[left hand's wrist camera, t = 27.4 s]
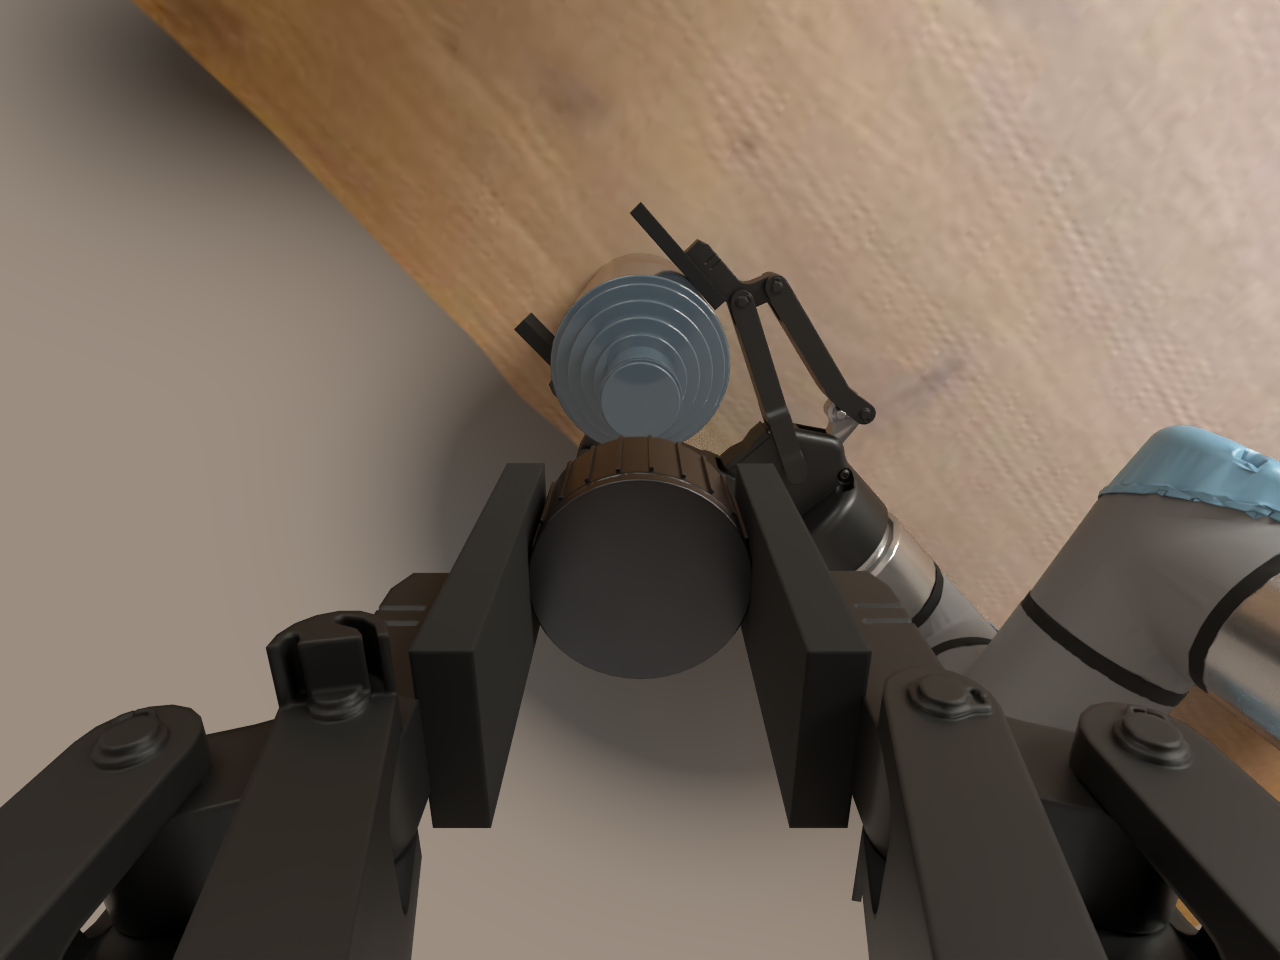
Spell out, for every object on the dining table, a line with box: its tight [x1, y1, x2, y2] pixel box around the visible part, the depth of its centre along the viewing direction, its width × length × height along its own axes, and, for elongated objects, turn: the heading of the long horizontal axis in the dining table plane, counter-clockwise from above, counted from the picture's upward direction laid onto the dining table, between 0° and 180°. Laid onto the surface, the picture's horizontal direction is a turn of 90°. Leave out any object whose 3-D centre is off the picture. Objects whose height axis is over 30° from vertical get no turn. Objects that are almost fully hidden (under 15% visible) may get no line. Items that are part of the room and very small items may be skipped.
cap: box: [528, 435, 752, 679], centre depth 13 cm, size 4×4×2 cm
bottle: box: [551, 253, 730, 444], centre depth 35 cm, size 8×8×22 cm
